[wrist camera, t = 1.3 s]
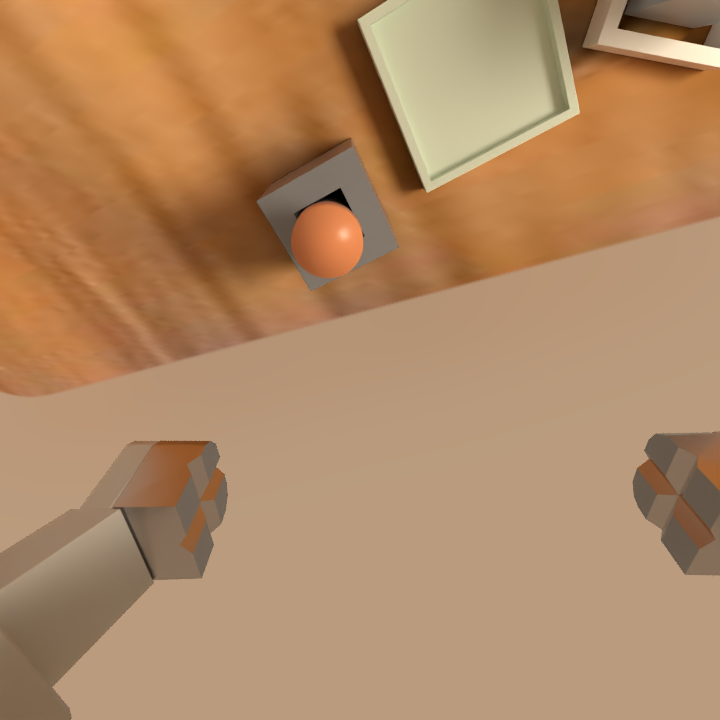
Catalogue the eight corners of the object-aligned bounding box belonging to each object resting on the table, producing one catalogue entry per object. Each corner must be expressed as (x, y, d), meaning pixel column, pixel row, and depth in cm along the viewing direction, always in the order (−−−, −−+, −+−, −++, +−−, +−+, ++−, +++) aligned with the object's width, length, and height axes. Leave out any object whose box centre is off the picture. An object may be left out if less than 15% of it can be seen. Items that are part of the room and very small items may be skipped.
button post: (272, 183, 29) (256, 201, 23) (351, 137, 27) (352, 146, 22) (316, 260, 31) (311, 291, 26) (389, 222, 30) (398, 247, 25)
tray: (357, 23, 24) (357, 19, 23) (527, -86, 22) (538, -97, 21) (423, 188, 29) (427, 192, 28) (568, 112, 27) (580, 113, 26)
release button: (290, 203, 26) (277, 228, 21) (342, 174, 25) (342, 192, 20) (319, 255, 27) (314, 289, 22) (370, 229, 26) (375, 259, 22)
